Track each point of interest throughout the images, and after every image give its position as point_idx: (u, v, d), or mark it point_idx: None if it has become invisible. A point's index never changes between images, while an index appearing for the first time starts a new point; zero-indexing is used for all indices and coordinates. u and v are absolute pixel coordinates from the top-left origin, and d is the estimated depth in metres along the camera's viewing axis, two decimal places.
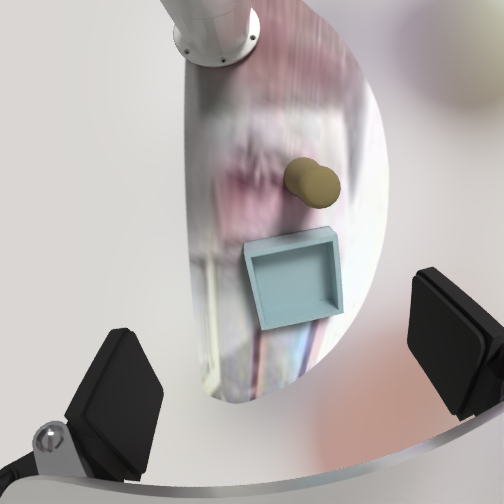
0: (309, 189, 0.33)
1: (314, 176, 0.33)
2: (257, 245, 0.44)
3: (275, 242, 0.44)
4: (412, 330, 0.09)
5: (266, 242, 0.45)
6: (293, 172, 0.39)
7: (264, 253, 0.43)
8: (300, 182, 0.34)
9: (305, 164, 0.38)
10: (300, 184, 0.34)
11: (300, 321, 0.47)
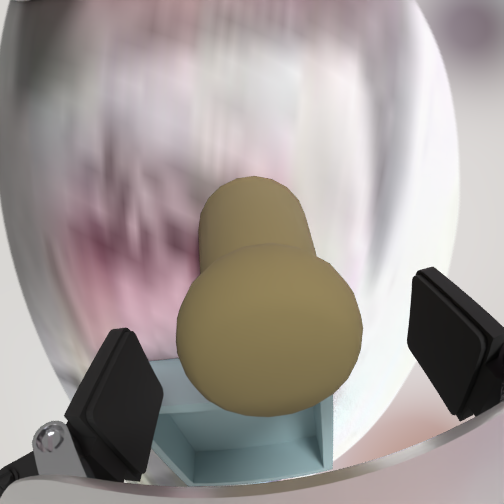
0: (211, 379, 0.07)
1: (231, 330, 0.06)
2: None
3: (186, 383, 0.18)
4: (412, 331, 0.09)
5: (170, 377, 0.18)
6: (205, 235, 0.13)
7: (159, 412, 0.16)
8: (177, 334, 0.07)
9: (239, 211, 0.12)
10: (177, 343, 0.07)
11: (253, 482, 0.21)
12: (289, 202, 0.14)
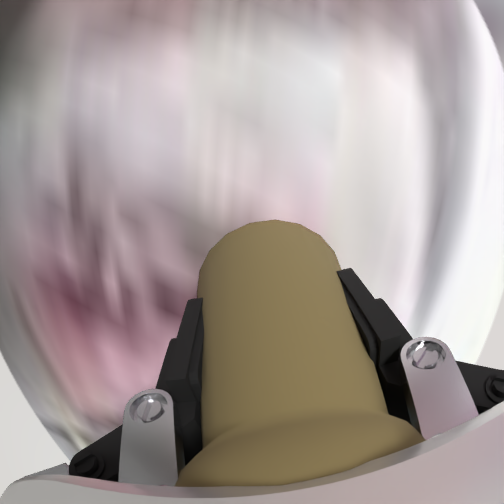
0: None
1: None
2: None
3: None
4: None
5: None
6: (205, 324, 0.08)
7: None
8: None
9: (259, 297, 0.07)
10: None
11: None
12: (329, 268, 0.09)
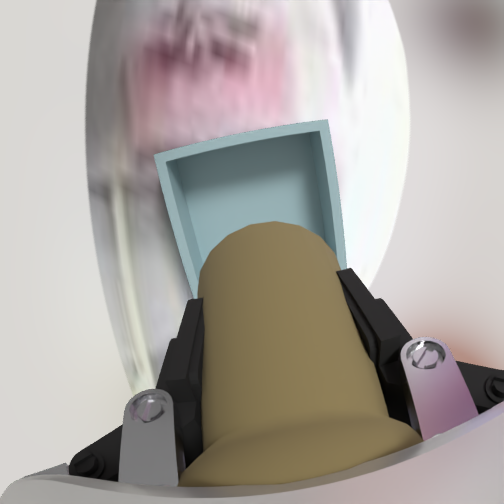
0: None
1: None
2: None
3: None
4: None
5: None
6: (205, 326, 0.08)
7: (190, 152, 0.22)
8: None
9: (259, 299, 0.07)
10: None
11: None
12: (330, 269, 0.09)
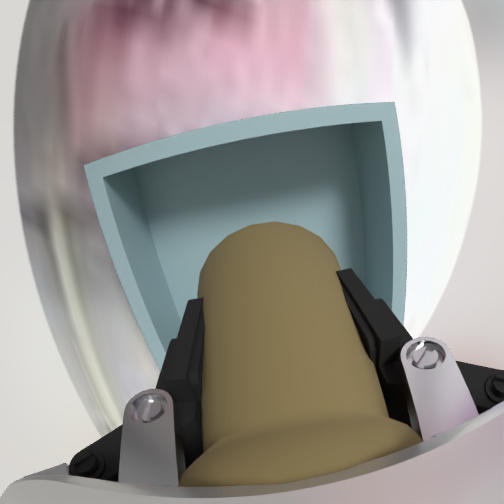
0: None
1: None
2: None
3: None
4: None
5: None
6: (205, 327, 0.08)
7: (143, 159, 0.11)
8: None
9: (259, 300, 0.07)
10: None
11: None
12: (330, 270, 0.09)
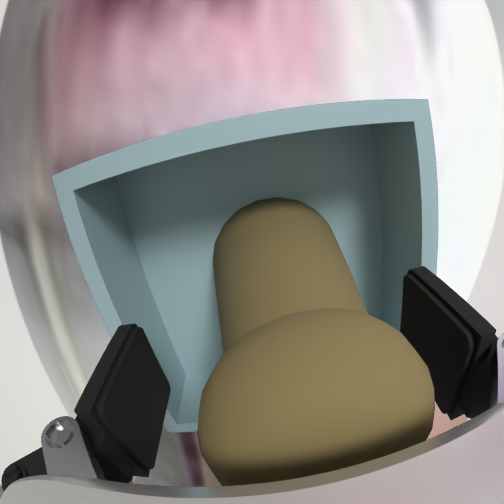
0: None
1: (282, 449, 0.04)
2: None
3: None
4: (404, 329, 0.09)
5: None
6: (224, 275, 0.10)
7: (120, 168, 0.09)
8: (201, 434, 0.05)
9: (268, 247, 0.09)
10: (201, 444, 0.05)
11: None
12: (324, 231, 0.11)
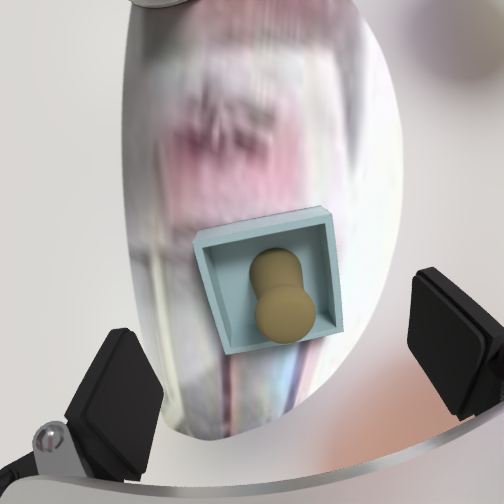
0: (268, 325, 0.24)
1: (274, 309, 0.23)
2: (214, 231, 0.30)
3: (240, 227, 0.30)
4: (412, 330, 0.09)
5: (228, 227, 0.31)
6: (257, 278, 0.30)
7: (221, 241, 0.29)
8: (256, 313, 0.24)
9: (272, 269, 0.29)
10: (256, 316, 0.24)
11: None
12: (292, 262, 0.31)
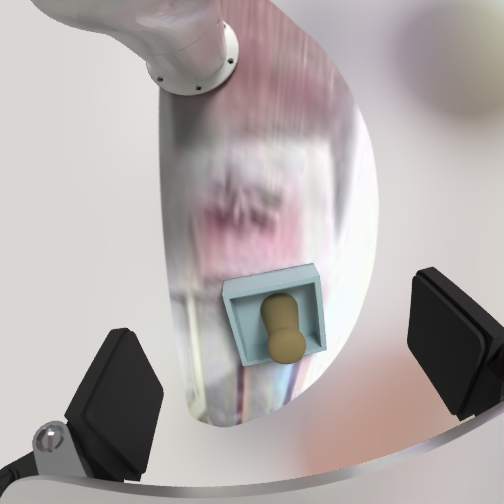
0: (276, 354, 0.37)
1: (280, 345, 0.36)
2: (236, 285, 0.43)
3: (255, 282, 0.43)
4: (412, 330, 0.09)
5: (246, 281, 0.43)
6: (266, 317, 0.42)
7: (243, 295, 0.41)
8: (268, 346, 0.37)
9: (277, 312, 0.42)
10: (268, 348, 0.37)
11: None
12: (291, 305, 0.43)
